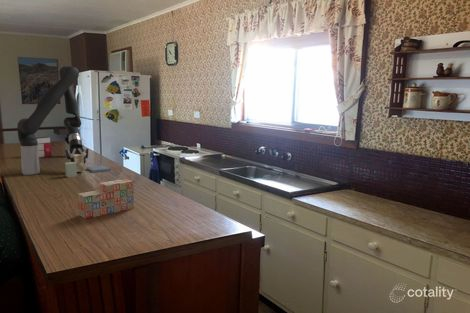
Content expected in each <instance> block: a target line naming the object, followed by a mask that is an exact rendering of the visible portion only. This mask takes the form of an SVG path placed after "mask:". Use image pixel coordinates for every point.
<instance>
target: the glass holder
mask: <svg viewBox="0 0 470 313" xmlns="http://www.w3.org/2000/svg"><path fill="white" fill-rule="evenodd" d="M82 141H85V140H84V139H83V138H82ZM64 146H65V148H64V151H65V150H70V145H69V136H65V137H64ZM82 146H83V147H84V146H85V144H82ZM71 155H72V154H71V153H70V152H69V156H71ZM65 158H67V157H66V155H65Z"/></svg>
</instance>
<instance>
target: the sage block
mask: <svg viewBox="0 0 470 313" xmlns="http://www.w3.org/2000/svg"><path fill="white" fill-rule="evenodd" d="M64 170H65V171H64V172H65V177H67V178H68V177H69V178H75V177H78V172H77V168H76V163H75V162H71V161H70V162H65V163H64Z"/></svg>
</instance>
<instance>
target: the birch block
mask: <svg viewBox="0 0 470 313" xmlns="http://www.w3.org/2000/svg"><path fill="white" fill-rule="evenodd" d="M73 160H74V162H75V163H76V168H77V173H79V172H84V171H85V167H84V165H85V164H84V158H83V155H82V154H74V155H73Z"/></svg>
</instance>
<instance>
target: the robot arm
mask: <svg viewBox="0 0 470 313" xmlns="http://www.w3.org/2000/svg"><path fill="white" fill-rule="evenodd" d="M58 73H59V80H58V81H57V82H56V83H55V84H53V85H51V86H50V87H49V88H47V89H46V90H45V92H44V93H43V94H42V95H41V97H40V98H39V100H38V102H37V104H36V107H35V110H34V111H33V113H32V114H30V116H29V117H28V118H21V119H20V120H19V121H18V123H17V124H16V125H17V135H18V136H17V137H18V141H19V143H20V153H21V154H20V155H21V156H20V164H21V166H20V167H21V174H23V175H24V176H26V175H28V176H30V175H37V174H40V173H41V170H40V169H41V168H40V158H39V154H38V141H37V140H36V138H37V137H35V134H36V133H37V132H38V131H39V129H40V127H41V126H42V124H43V122H44V121H45V120H46V118H47V117H48V115H50V113H51V112H52V110H53V109H54V108H55V107H56V106H57V104H58V103H59V102H60V100H61V99H62V98H63V96H64V105H65V113H66V114H68V115H69V114H70V115H73V116H71V117H70V116H68V117H64V119H63V125H64V127H65V129H66V131H67V134H68V135H67V136H68V137H69V145H70V150H65V149H64V154H65V156H66V157H65V158H66V160H70V162H74V160H73V155H74V154H82V155H83V158H84V165H85V164H86V163H87V161H86V159H88V158H89V148H86V149H85V148H84V146H83V139H82V136H81V131H80V127H81V126H82V120H81V117H80V115H79V112H78V102H77V97H76V95H75V92H74V90H73V86H72V85H73V84H74V83H75V82H76V81H77V80H78V79H79V76H80V71H79V69H78V68H77V67H76V66H72V65H71V66H69V65H66V66H65V65H64V66H62V67H60V69H59V72H58ZM69 152H70V153H71V154H72V155H71V156H69ZM84 153H85V154H84Z"/></svg>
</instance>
